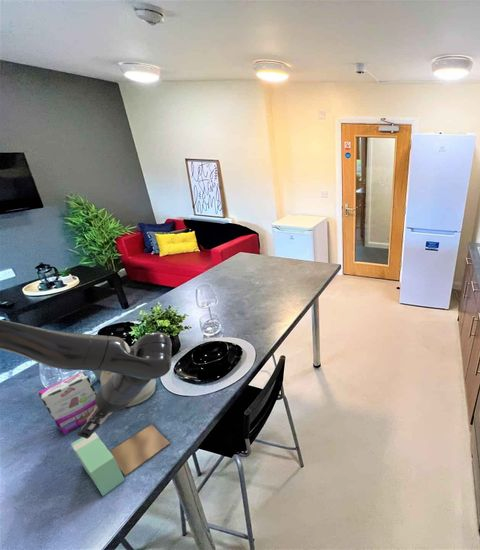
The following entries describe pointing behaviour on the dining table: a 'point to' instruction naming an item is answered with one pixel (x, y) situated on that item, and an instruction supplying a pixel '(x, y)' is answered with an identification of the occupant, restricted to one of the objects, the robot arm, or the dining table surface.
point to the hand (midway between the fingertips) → (94, 418)
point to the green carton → (98, 463)
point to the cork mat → (139, 449)
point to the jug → (143, 395)
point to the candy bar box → (70, 401)
